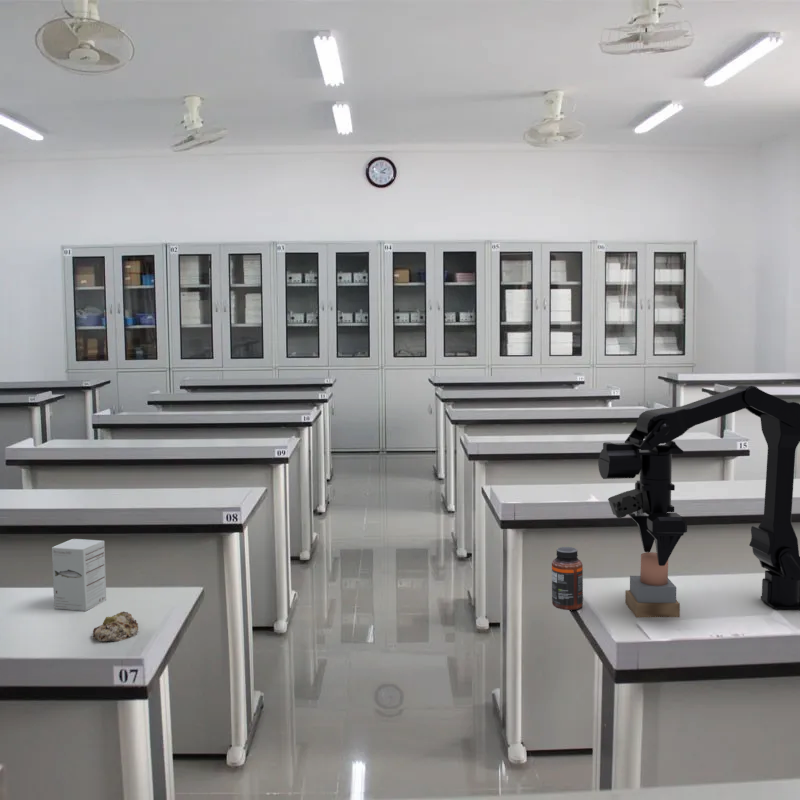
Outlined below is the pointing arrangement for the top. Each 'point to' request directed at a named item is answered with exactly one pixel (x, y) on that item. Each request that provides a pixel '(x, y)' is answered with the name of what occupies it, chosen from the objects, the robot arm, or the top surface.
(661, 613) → the tower base
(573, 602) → the supplement bottle
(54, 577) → the supplement box
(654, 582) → the brick cylinder
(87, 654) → the top surface
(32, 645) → the top surface
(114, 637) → the mineral rock
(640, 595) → the tower top
